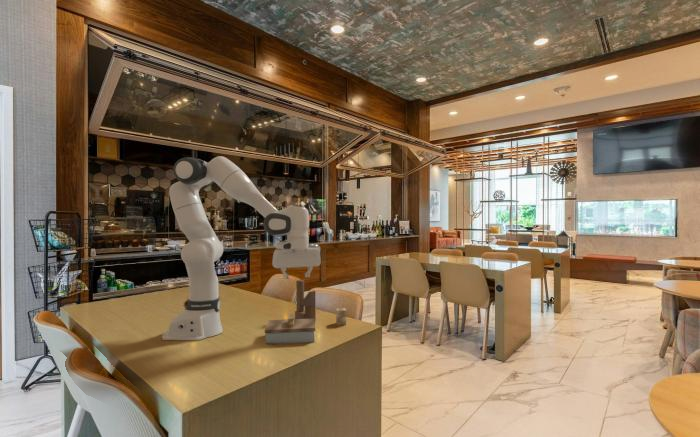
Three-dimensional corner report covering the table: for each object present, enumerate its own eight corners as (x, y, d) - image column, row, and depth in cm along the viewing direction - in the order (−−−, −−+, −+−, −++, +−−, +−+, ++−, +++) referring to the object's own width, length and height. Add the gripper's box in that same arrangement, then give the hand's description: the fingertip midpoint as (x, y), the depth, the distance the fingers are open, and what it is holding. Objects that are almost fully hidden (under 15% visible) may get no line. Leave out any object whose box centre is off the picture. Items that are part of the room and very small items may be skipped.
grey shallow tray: (265, 344, 127) (265, 333, 127) (269, 333, 139) (269, 323, 139) (314, 341, 129) (314, 331, 130) (314, 331, 141) (314, 322, 141)
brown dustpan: (309, 323, 153) (309, 283, 153) (294, 319, 160) (294, 280, 160) (316, 321, 156) (315, 282, 156) (300, 317, 163) (300, 279, 163)
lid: (264, 333, 127) (264, 321, 127) (269, 323, 140) (268, 312, 140) (315, 331, 129) (315, 319, 129) (314, 321, 142) (314, 311, 142)
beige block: (337, 325, 149) (336, 310, 150) (336, 322, 153) (336, 308, 154) (346, 325, 150) (346, 310, 150) (345, 322, 154) (345, 308, 154)
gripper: (317, 243, 149) (316, 275, 149) (271, 244, 138) (270, 278, 138) (323, 244, 143) (323, 277, 143) (277, 245, 132) (276, 281, 132)
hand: (296, 278), depth 140 cm, fingers open, 8 cm apart
